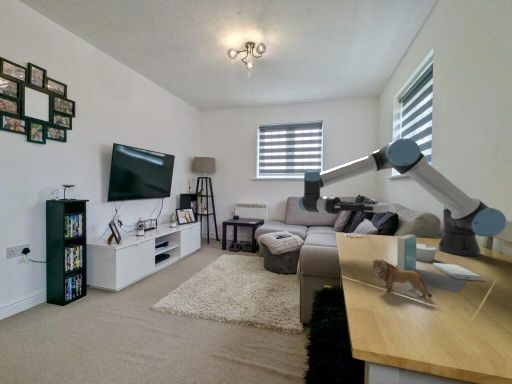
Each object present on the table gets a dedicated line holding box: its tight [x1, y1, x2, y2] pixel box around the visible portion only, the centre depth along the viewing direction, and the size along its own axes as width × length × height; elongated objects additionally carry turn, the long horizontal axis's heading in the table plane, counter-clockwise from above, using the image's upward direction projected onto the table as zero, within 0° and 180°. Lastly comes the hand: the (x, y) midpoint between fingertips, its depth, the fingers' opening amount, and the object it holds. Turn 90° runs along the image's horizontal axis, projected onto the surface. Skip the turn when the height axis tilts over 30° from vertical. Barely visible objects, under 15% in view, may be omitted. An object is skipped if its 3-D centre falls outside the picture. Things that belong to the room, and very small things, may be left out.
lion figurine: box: [371, 258, 432, 299], centre depth 67 cm, size 15×5×9 cm, turn 69°
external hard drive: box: [432, 262, 483, 282], centre depth 82 cm, size 2×8×12 cm
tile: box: [396, 233, 417, 271], centre depth 82 cm, size 10×2×12 cm, turn 129°
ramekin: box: [416, 243, 437, 262], centre depth 101 cm, size 11×11×5 cm
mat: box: [394, 265, 469, 294], centre depth 78 cm, size 14×20×1 cm
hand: (384, 208), depth 88 cm, fingers open, 3 cm apart
